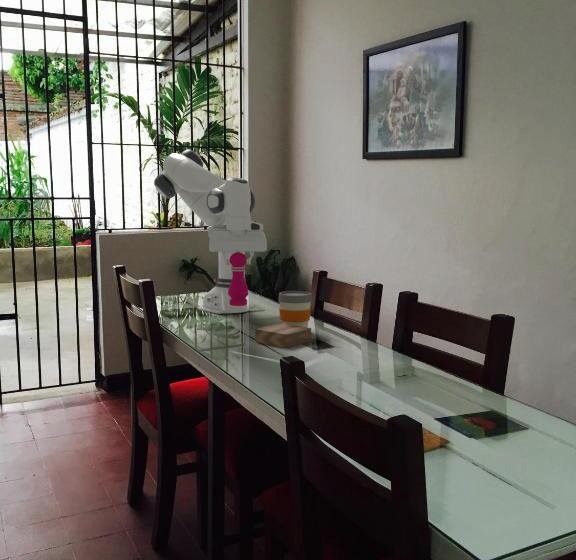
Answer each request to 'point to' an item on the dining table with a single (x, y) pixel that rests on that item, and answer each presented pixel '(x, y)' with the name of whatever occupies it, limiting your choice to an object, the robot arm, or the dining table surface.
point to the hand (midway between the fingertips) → (238, 264)
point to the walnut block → (283, 335)
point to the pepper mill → (238, 280)
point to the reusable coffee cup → (295, 308)
